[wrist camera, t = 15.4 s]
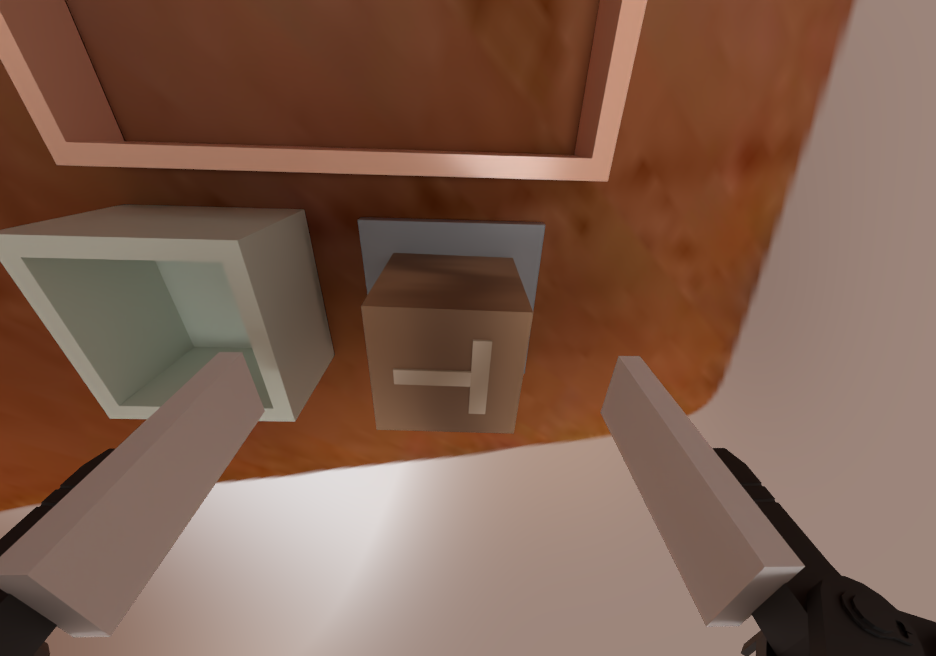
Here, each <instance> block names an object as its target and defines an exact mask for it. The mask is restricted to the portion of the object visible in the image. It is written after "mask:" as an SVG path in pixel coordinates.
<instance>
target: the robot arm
mask: <svg viewBox="0 0 936 656" xmlns="http://www.w3.org/2000/svg"><path fill="white" fill-rule="evenodd" d="M264 412H265V410H264V407H263V405H262V402H261V400H260V397H259V394H258V392H257V389H256V387H255V384H254V382H253V379H252V376H251V374H250V371H249V369H248V366H247V364H246V361H245V358H244V356H243V353H242V352H219V353H218V354H217V355H215V356H214V357H213V358H212V359H211V360H210V361H209V362H208V363H207V364H206V365H205V366H204V367H203V368H202V369H200V370H199V371H198V372H197V373H196V374H195V375H194V376H193V377H192V378H191V379H190V380H189V381H188V382H187V383H186V384H184V385H183V386H182V387H181V388H180V389H179V390H178V391H177V392H176V393H175V394H174V395H173V396H172V397H171V398H169V399H168V400H167V401H166V402H165V403H164V404H163V405H162V406H161V407H160V408H159V409H158V410H157V411H156V412H154V413H153V414H152V415H151V416H150V417H149V418H148V419H147V420H146V421H145V422H144V423H143V424H142V425H141V426H140V427H138V428H137V429H136V430H135V431H134V432H133V433H132V434H131V435H130V436H129V437H128V438H127V439H126V440H125V441H123V442H122V443H121V444H120V445H119V446H118V447H117V448H116V449H108V450H106V451H105V452H103V453H102V454H100V455H99V456H97V457H95V458H94V459H92V460H91V461H89V462H87V463H86V464H84V465H83V466H81V467H80V468H79V469H78V470H77V471H76V472H75V473H74V474H73V475H71V476H70V477H69V478H68V479H67V480H66V481H65V482H64V483H63V484H61V485H60V486H61V487H60V489H58V490H55V491H54V492H52V493H51V494H50V495H49V496H48V497H47V498H46V499H45V500H44V501H42V502H41V503H42V504H41V506H40V507H36V508H35V509H34V510H33V511H31V512H30V513H29V514H28V515H27V516H26V517H25V518H24V519H22V520H21V521H20V522H19V523H18V524H17V525H16V526H15V527H13V528H12V529H11V530H10V531H9V532H8V533H7V534H6V535H5V536H3V537H2V538H1V539H0V656H49V655H50V653H49V647H48V644H47V643H46V642H44V641H45V640H46V639H47V637H48V636H49V635H50V634H51V632H52V631H53V630H54V629H55V627H56V626H57V627H59V628H60V629H62V630H63V631H65V632H66V633H68V634H69V635H71V636H72V637H110V636H111V635H112V634H113V632H114V631H115V629H116V628H117V626H118V625H119V623H120V622H121V621H122V619H123V617H124V616H125V615H126V613H127V612H128V610H129V609H130V607H131V606H132V604H133V603H134V601H135V600H136V599H137V597H138V595H139V594H140V593H141V591H142V590H143V589H144V587H145V586H146V584H147V583H148V581H149V580H150V578H151V577H152V575H153V574H154V572H155V571H156V570H157V568H158V566H159V565H160V564H161V562H162V561H163V559H164V558H165V556H166V555H167V553H168V552H169V551H170V549H171V548H172V546H173V545H174V543H175V542H176V540H177V539H178V537H179V536H180V534H181V533H182V532H183V530H184V529H185V527H186V526H187V524H188V522H189V521H190V520H191V518H192V517H193V516H194V514H195V513H196V511H197V510H198V508H199V507H200V505H201V504H202V502H203V501H204V499H205V498H206V497H207V495H208V494H209V492H210V491H211V489H212V488H213V486H214V485H215V483H216V482H217V480H218V479H219V478H220V476H221V475H222V473H223V472H224V470H225V469H226V467H227V466H228V464H229V463H230V462H231V460H232V459H233V457H234V456H235V454H236V453H237V451H238V450H239V448H240V447H241V445H242V444H243V443H244V441H245V440H246V438H247V437H248V435H249V434H250V432H251V431H252V429H253V428H254V426H255V425H256V424H257V422H258V421H259V419H260V418H261V416H262V415H263V413H264ZM601 414H602V416H603V418H604V421H605V423H606V425H607V427H608V429H609V431H610V433H611V435H612V437H613V439H614V441H615V443H616V445H617V447H618V449H619V451H620V453H621V455H622V457H623V459H624V461H625V463H626V465H627V467H628V469H629V471H630V473H631V475H632V477H633V479H634V481H635V483H636V485H637V487H638V489H639V491H640V493H641V495H642V497H643V499H644V501H645V504H646V506H647V508H648V510H649V512H650V514H651V515H652V518H653V520H654V521H655V524H656V526H657V528H658V530H659V532H660V534H661V536H662V538H663V540H664V542H665V544H666V546H667V548H668V550H669V552H670V554H671V556H672V558H673V560H674V562H675V564H676V566H677V568H678V570H679V572H680V574H681V576H682V578H683V580H684V582H685V584H686V587H687V588H688V590H689V593H690V595H691V596H692V599H693V601H694V603H695V605H696V607H697V609H698V611H699V613H700V615H701V617H702V619H703V621H704V623H705V625H706V627H710V626H711V627H713V626H740V625H741V624H742V623H743V622H744V621H745V620H746V619H748V618H749V617H750V616H751V615H752V616H753V617H754V619H755V620H756V622H757V624H758V626H759V627H760V629H761V631H759V632H758V633H757V634H756V635H754V636H753V637H752V638H751V639H750V640H748V641H747V642H746V643H745V644H744V646H743V648H742V651H741V653H742V654H743V655H745V656H749V655H750V654H751V653H753V652H754V651H755V650H756V656H936V622H933V621H930V620H927V619H924V618H920V617H917V616H914V615H911V614H908V613H905V612H902V611H899V610H897V609H896V608H895V607H894V606H893V605H891V604H890V603H889V602H888V601H887V600H886V599H885V598H883V597H882V596H881V595H879V594H878V593H876V592H875V591H873V590H872V589H870V588H869V587H867V586H866V585H864V584H862V583H860V582H858V581H855V580H853V579H850V578H848V577H845V576H841V575H840V574H839V573H838V572H837V571H836V570H835V568H834V567H833V566H832V565H831V564H830V563H829V562H828V561H827V560H826V559H825V557H824V556H823V555H822V554H821V552H820V551H819V550H818V549H817V548H816V547H815V546H814V544H813V543H812V542H811V541H810V540H809V538H808V537H807V536H806V535H805V534H804V533H803V531H802V530H801V529H800V528H799V527H798V526H797V524H796V523H795V522H794V521H793V519H792V518H791V517H790V516H789V515H788V514H787V512H786V511H785V510H784V509H783V508H782V507H781V505H780V504H779V503H776V502H775V500H774V499H775V498H774V497H773V496H772V495H771V494H770V492H769V491H768V490H767V489H766V488H765V487H764V486H762V485H761V482H760V481H759V479H758V478H757V477H756V476H755V475H754V474H753V472H752V471H751V470H750V469H749V468H748V466H747V465H746V464H745V463H743V462H742V461H741V460H740V459H738V458H737V457H736V456H734V455H733V454H732V453H730V452H729V451H728V450H727V449H725V448H712V447H711V446H710V445H709V444H708V442H707V441H706V440H705V438H704V437H703V436H702V435H701V433H700V432H699V431H698V430H697V428H696V427H695V426H694V424H693V423H692V422H691V421H690V419H689V418H688V417H687V416H686V414H685V413H684V412H683V410H682V409H681V408H680V407H679V405H678V404H677V403H676V402H675V400H674V399H673V398H672V397H671V395H670V394H669V393H668V391H667V390H666V389H665V388H664V386H663V385H662V384H661V383H660V381H659V380H658V379H657V377H656V376H655V375H654V374H653V372H652V371H651V370H650V369H649V367H648V366H647V365H646V363H645V362H644V361H643V360H642V358H641V357H640V356H618V360H617V363H616V366H615V369H614V372H613V375H612V378H611V382H610V385H609V388H608V391H607V394H606V397H605V400H604V404H603V407H602V410H601Z"/></svg>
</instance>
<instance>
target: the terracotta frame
mask: <svg viewBox="0 0 936 656" xmlns="http://www.w3.org/2000/svg"><path fill="white" fill-rule="evenodd" d="M646 4H647V0H600V2H599V8H598V14H597V20H596V26H595V32H594V38H593V44H592V50H591V56H590V62H589V68H588V74H587V81H586V87H585V93H584V99H583V105H582V111H581V117H580V123H579V129H578V135H577V141H576V147H575V153H574V155H559V154H526V153H494V152H462V151H430V150H398V149H365V148H333V147H301V146H269V145H236V144H204V143H172V142H140V141H124V139H123V136H122V134H121V132H120V129H119V127H118V125H117V122H116V120H115V118H114V115H113V113H112V111H111V108H110V106H109V104H108V101H107V99H106V96H105V94H104V92H103V89H102V87H101V85H100V82H99V80H98V78H97V75H96V73H95V71H94V68H93V66H92V64H91V61H90V59H89V56H88V54H87V52H86V49H85V47H84V45H83V42H82V40H81V38H80V35H79V33H78V31H77V28H76V26H75V24H74V21H73V19H72V16H71V14H70V12H69V9H68V7H67V5H66V2H65V0H0V59H1V61H2V63H3V65H4V67H5V68H6V70H7V72H8V74H9V76H10V78H11V80H12V82H13V84H14V85H15V87H16V89H17V91H18V93H19V95H20V97H21V99H22V100H23V102H24V104H25V106H26V108H27V110H28V112H29V114H30V116H31V117H32V119H33V121H34V123H35V125H36V127H37V129H38V131H39V133H40V134H41V136H42V138H43V140H44V142H45V144H46V146H47V148H48V150H49V151H50V153H51V155H52V157H53V159H54V161H55V163H56V165H71V166H104V167H138V168H172V169H205V170H239V171H273V172H307V173H340V174H374V175H408V176H441V177H475V178H509V179H543V180H576V181H608V178H609V173H610V169H611V164H612V159H613V155H614V150H615V146H616V141H617V136H618V132H619V127H620V123H621V118H622V114H623V109H624V104H625V100H626V95H627V91H628V86H629V81H630V77H631V72H632V68H633V63H634V59H635V54H636V49H637V45H638V40H639V36H640V31H641V27H642V22H643V17H644V13H645V8H646Z"/></svg>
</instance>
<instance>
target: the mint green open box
mask: <svg viewBox="0 0 936 656" xmlns="http://www.w3.org/2000/svg"><path fill="white" fill-rule="evenodd" d="M0 262H1V263H2V264H3V266H4V267H5V269H6V270H7V272H8V273H9V274H10V276H11V277H12V279H13V280H14V282H15V283H16V285H17V286H18V287H19V289H20V290H21V292H22V293H23V295H24V296H25V297H26V299H27V300H28V302H29V303H30V305H31V306H32V308H33V309H34V310H35V312H36V313H37V315H38V316H39V318H40V319H41V320H42V322H43V323H44V325H45V326H46V328H47V329H48V330H49V332H50V333H51V335H52V336H53V338H54V339H55V341H56V342H57V343H58V345H59V346H60V348H61V349H62V351H63V352H64V353H65V355H66V356H67V358H68V359H69V361H70V362H71V363H72V365H73V366H74V368H75V369H76V371H77V372H78V374H79V375H80V376H81V378H82V379H83V381H84V382H85V384H86V385H87V386H88V388H89V389H90V391H91V392H92V394H93V395H94V397H95V398H96V399H97V401H98V402H99V404H100V405H101V407H102V408H103V409H104V411H105V412H106V414H107V415H108V417H109V418H110V419H148V418H149V417H150V416H151V415H152V414H153V413H154V412H156V411H157V410H158V409H159V408H160V407H161V406H162V405H163V404H164V403H165V402H166V401H167V400H168V399H169V398H171V397H172V396H173V395H174V394H175V393H176V392H177V391H178V390H179V389H180V388H181V387H182V386H183V385H184V384H186V383H187V382H188V381H189V380H190V379H191V378H192V377H193V376H194V375H195V374H196V373H197V372H198V371H199V370H200V369H202V368H203V367H204V366H205V365H206V364H207V363H208V362H209V361H210V360H211V359H212V358H213V357H214V356H215V355H217V354H218V353H219V352H242V353H243V356H244V358H245V361H246V364H247V366H248V369H249V371H250V374H251V376H252V379H253V382H254V384H255V387H256V389H257V392H258V394H259V397H260V400H261V402H262V405H263V407H264V410H265V412H264V413H263V415H262V416H261V418H260V419H259V421H292V422H295V421H296V419H297V418H298V416H299V414H300V413H301V411H302V409H303V407H304V406H305V404H306V402H307V401H308V399H309V397H310V396H311V394H312V392H313V391H314V389H315V387H316V386H317V384H318V382H319V381H320V379H321V377H322V376H323V374H324V372H325V370H326V369H327V367H328V365H329V364H330V362H331V360H332V359H333V357H334V355H335V354H334V350H333V345H332V340H331V335H330V330H329V326H328V321H327V316H326V311H325V306H324V302H323V297H322V292H321V287H320V282H319V278H318V273H317V268H316V263H315V258H314V254H313V249H312V244H311V239H310V234H309V230H308V225H307V220H306V215H305V211H304V209H275V208H239V207H202V206H166V205H130V204H123V205H119V206H114V207H109V208H104V209H99V210H94V211H89V212H85V213H80V214H75V215H70V216H65V217H60V218H55V219H51V220H46V221H41V222H36V223H31V224H26V225H21V226H17V227H12V228H7V229H2V230H0Z"/></svg>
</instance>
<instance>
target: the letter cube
mask: <svg viewBox="0 0 936 656" xmlns="http://www.w3.org/2000/svg"><path fill="white" fill-rule="evenodd" d="M361 310H362V318H363V326H364V334H365V342H366V350H367V357H368V365H369V373H370V381H371V389H372V397H373V405H374V413H375V421H376V428H377V430H410V431H444V432H478V433H513V434H514V429H515V422H516V416H517V410H518V404H519V398H520V392H521V385H522V379H523V373H524V367H525V361H526V355H527V348H528V342H529V336H530V330H531V324H532V318H533V311H532V308H531V305H530V303H529V300H528V297H527V295H526V292H525V289H524V287H523V284H522V281H521V279H520V276H519V273H518V271H517V268H516V265H515V263H514V260H513V258H503V257H480V256H457V255H434V254H411V253H393V254H392V256H391V258H390V259H389V261H388V263H387V264H386V266H385V267H384V269H383V271H382V272H381V274H380V276H379V277H378V279H377V281H376V282H375V284H374V285H373V287H372V289H371V290H370V292H369V294H368V295H367V297H366V299H365V300H364V302H363V303H362V305H361Z"/></svg>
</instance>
